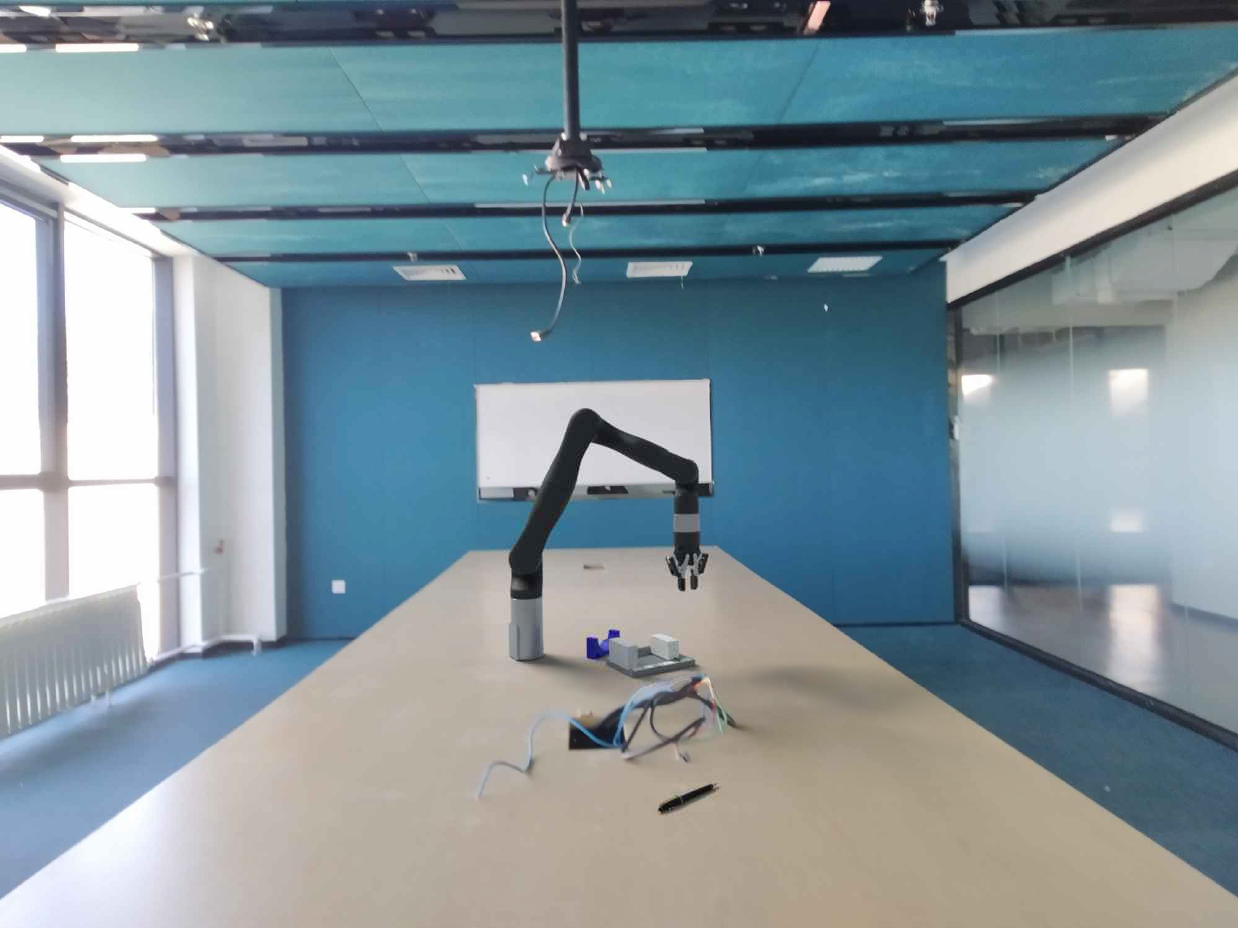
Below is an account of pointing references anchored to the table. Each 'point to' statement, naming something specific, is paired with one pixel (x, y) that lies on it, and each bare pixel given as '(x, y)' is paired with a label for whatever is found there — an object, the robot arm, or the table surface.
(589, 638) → the cable clip
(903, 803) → the table surface
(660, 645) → the block
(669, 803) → the fountain pen
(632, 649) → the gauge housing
